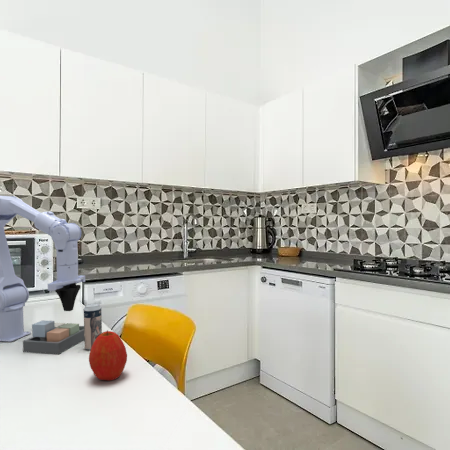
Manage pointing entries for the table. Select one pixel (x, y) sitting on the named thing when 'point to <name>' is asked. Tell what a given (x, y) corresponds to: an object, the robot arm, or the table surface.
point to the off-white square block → (58, 325)
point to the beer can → (92, 324)
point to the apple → (108, 356)
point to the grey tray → (52, 343)
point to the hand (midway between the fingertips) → (68, 310)
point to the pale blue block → (42, 328)
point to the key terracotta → (57, 334)
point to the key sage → (71, 328)
